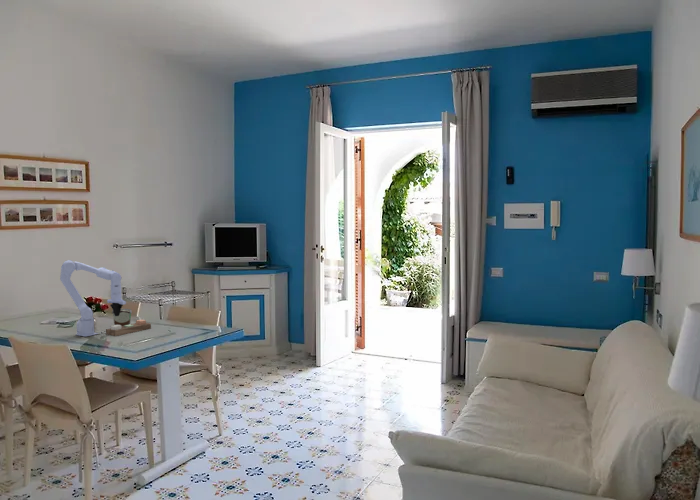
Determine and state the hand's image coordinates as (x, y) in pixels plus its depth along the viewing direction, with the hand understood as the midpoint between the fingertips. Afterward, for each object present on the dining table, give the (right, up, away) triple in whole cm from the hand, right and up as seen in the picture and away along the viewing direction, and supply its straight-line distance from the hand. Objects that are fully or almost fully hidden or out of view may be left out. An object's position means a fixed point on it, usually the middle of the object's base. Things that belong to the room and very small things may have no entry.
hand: (117, 315), depth 333 cm
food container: (-4, -8, +19) cm, 21 cm away
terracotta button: (+11, -7, +8) cm, 16 cm away
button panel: (+6, -9, +1) cm, 11 cm away
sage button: (+6, -9, +1) cm, 11 cm away
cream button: (+2, -8, -6) cm, 10 cm away
